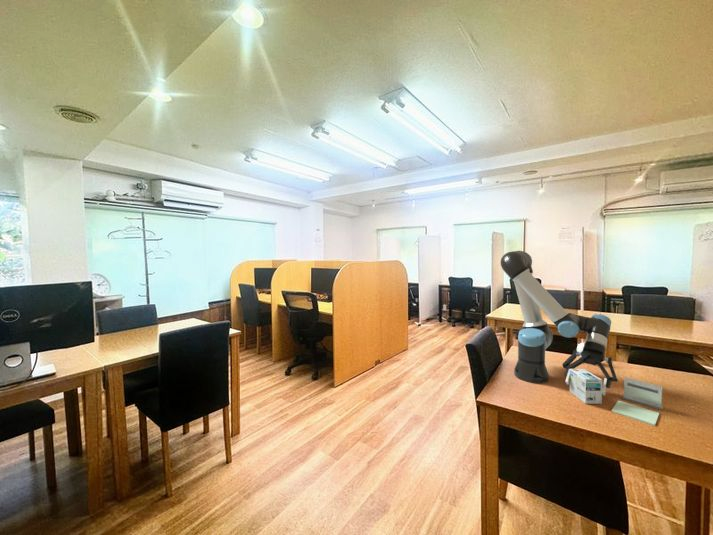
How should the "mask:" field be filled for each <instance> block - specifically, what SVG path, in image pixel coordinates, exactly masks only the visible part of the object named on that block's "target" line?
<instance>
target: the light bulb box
mask: <svg viewBox="0 0 713 535" xmlns="http://www.w3.org/2000/svg"><path fill="white" fill-rule="evenodd" d="M602 387H603V379H602V378H600V377H598V376H597V375H595V374H594V373H592V372H590V371H589V370H587V369H585V368H574V369H570V382H569V390H568V391H569V393H571V394H572V395H574V396H575V397H576V398H578V400H580V401H581V402H583V403H584V404H585V405H586V404H589V405H593V404H594V405H602V404H603V403H602V401H603V395H602Z"/></svg>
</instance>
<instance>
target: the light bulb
mask: <svg viewBox="0 0 713 535" xmlns="http://www.w3.org/2000/svg"><path fill="white" fill-rule="evenodd" d="M584 344H585V342H581V343H579V344H578V345H577V347H576V350H577V351H578V352H582V351H583V348H584ZM578 357H579V358H580V357H582V356H581V355H579V356H578ZM584 364H587V363H586V362H585V363H584Z"/></svg>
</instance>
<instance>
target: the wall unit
mask: <svg viewBox="0 0 713 535" xmlns="http://www.w3.org/2000/svg"><path fill="white" fill-rule="evenodd" d="M623 380H624V381H623V396H622V400H626V401H628V402H632V403H635V404H639V405H642V406H645V407H649V408H652V409H654V410H655V409H656V410H658V411H659V410H660V411H663V409H664V408H663V406H662V404H663V389H664V388H663V385H657V384H655V383H654V384H653V383H650V382H646V381H641V380H637V379H634V378H630V377H627V376H625V377H624V379H623Z"/></svg>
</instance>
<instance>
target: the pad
mask: <svg viewBox="0 0 713 535" xmlns="http://www.w3.org/2000/svg"><path fill="white" fill-rule="evenodd" d="M611 412H612V413H615V414H618V415H621V416H623V417H626V418H627V417H628V418H630V419H632V420H636V421H639V422H642V423H645V424H648V425H651V426H656V424H657V421H658V419H659V417H660V412H658V411H655V410H651V409H647V408H644V407H642V406H637V405H635V404H632V403H628V402H624V401H622V400H617V401H616V403H615V404H614V406H613V407H612V409H611Z"/></svg>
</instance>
